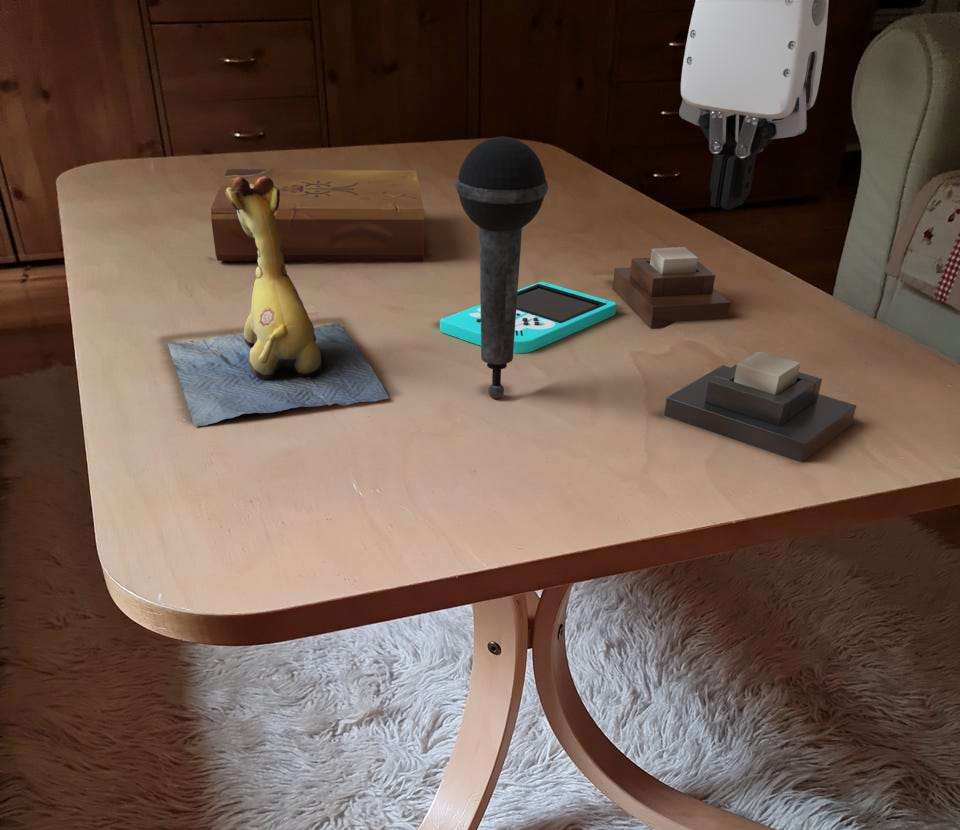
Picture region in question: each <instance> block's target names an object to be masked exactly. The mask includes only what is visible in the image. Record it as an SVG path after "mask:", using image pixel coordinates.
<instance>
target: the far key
mask: <svg viewBox="0 0 960 830" xmlns="http://www.w3.org/2000/svg"><path fill="white" fill-rule="evenodd" d="M650 257H651V259H650V265H651V266H652V267H653V268H654V269H655V270H656V271H657V272H658V273H660V274H673V273H692V272H696V268H697V261H698V262H699V258H698V256H697V255H695V254H694V253H693V252H692V251H690V249H688V248H687V247H685V246H681V247H679V246H678V247H677V246H676V247H658V248H657V247H656V248H651V251H650Z"/></svg>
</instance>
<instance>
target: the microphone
mask: <svg viewBox="0 0 960 830" xmlns="http://www.w3.org/2000/svg"><path fill="white" fill-rule="evenodd" d="M548 189H549V184H548V180H547V178H546V173H545V170H544V167H543V164H542V162H541V160H540V158H539V157H538V155H537V154H536V152H535V151H534V150H533V149H532V148H531V147H529V145H528V144H526V143H524V142H523V141H521V140H520V139H517V138H513V137H510V136H496V137H492V138H491V137H490V138H488V139H487V138H486V139H485V140H484V141H482V142H480V143H478V144H476V146H475V147H473V148H472V149H471V150H470V151H469V153H468V154H467V155H466V157H465V159H464V160H463V162H462V164H461V166H460V169H459V173H458V177H457V178H456V181H455V191H456V193H457V194H458V198H459V201H460V202H459V203H460V205H461V207H462V209H463V211H464V212H465V214H466V216H467V217H468V218H469V219H470V221H471V222H473V223H474V224H475V225H476V226H477V227H478V230H479V231H478V232H479V233H478V235H479V236H478V237H479V238H478V239H479V295H480V296H479V298H480V304H481V346H480V357H481V361H482V362H484V363H486V367H487V368H489V369H490V370H492V375H491V376H492V377H491V384H490V386H489V387H488V389H487V390H488V395H489V397H490V398H492V399H495V400H498V399H501V398H502V397H503V396H504V394H505V388H504V386H503V385H502V382H501V381H502V378H501V377H502V370H504V369H506V368H507V366H508V364H509V363H511V362H512V361H513V359H514V353H513V349H514V335H515V321H516V307H517V292H518V290H519V277H520V261H521V251H522V250H521V248H522V235H523V228H524V227H526V226H527V225H528V224H529V223H531V222H532V221H533V220H534V218H535V217H536V216H537V215H538V214H539V211H540V209H541V208H542V205H543V202H544V199H545V196H546V195H547V193H548ZM480 304H479V305H480Z"/></svg>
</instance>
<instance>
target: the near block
mask: <svg viewBox="0 0 960 830" xmlns="http://www.w3.org/2000/svg"><path fill="white" fill-rule="evenodd" d="M737 364H738V363H736V364H735V365H733V366H727V365H724V364H722V365H721V366H719V367H717V368H715V369H714V370H712V371H710V372H709V373H707V374H705V375H703V376H702V377H700V378H698V379H696V380H694V381H692V382H691V383H689V384H688V385H686V386H683V387H681V389H679V390H677V391H675V392H674V393H672V394H670V395H668V396H666V399H665V400H666V401H665V407H664V415H663V416H664V417H666V418H669V419H673V420H676V421H677V422H678V421H679V422H681V423H684V424H687V425H690V426H693V427H695V428H699V429H701V430H705V431H708V432H710V433H713V434H717V435H719V436H722V437H726V438H728V439H731V440H734V441H737V442H740V443H743V444H746V445H749V446H752V447H754V448H758V449H760V450H764V451H766V452H770V453H772V454H776V455H778V456H781V457H783V458H787V459H790V460H793V461H796V462H799V463H803V462H804V461H805V460H806V459H808V458H809V457H810V456H812V455H814V454H815V453H816V452H817V451H818V450H819V449H821V448H823V447H824V446H825V445H826V444H828V443H829V442H830V441H831V440H833V439H835V437H837V436H838V435H840V433H842V432H843V431H845V430H846V429H848V427H850V426H851V425H852V424H853V422H854V421H853V420H854V417H855V414H856V409H857V405H856V404H853V403H850V402H847V401H843V400H841V399H840V400H839V399H837V398H833V397H830V396H827V395H823V394H820V390H821V386H822V381H823V378H821V377H819V376H818V377H817V376H815V375H811V374H807V373H803V372H800V371H799V372H798V377H797V381H796V384H794V385H793V386H791V387H789V388H788V389H786V390H785V391H783V392H782V393H780V394H779V395H775V394H772V393H768V392H765V391H762V390H759V389H755V388H752V387H749V386H746V385H742V384H739V383H736V382H734V378H735V372H736V367H737Z"/></svg>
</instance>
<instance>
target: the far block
mask: <svg viewBox="0 0 960 830" xmlns="http://www.w3.org/2000/svg"><path fill="white" fill-rule="evenodd" d="M650 259H651V256H650V257H634V258H633V257H632V258H631V263H630V267H615V268H614V271H613V280H612V290H613V291H614V292H615V293H616V294H617V295H618V296H619V297H620V299H622V300H623V302H624V303H626V305H627V306H628V307H629V308H630V309H631V310H632V312H634V313H635V314H636V315H637V317H639V318H640V320H642V322H643V323H644V324H645V325H646V326H647V327H648V328H649V329H650V330H656V329H665V328H668V327H669V326H671V325H673V324H675V323H677V322H689V321H690V322H691V321H708V320H724V319H725V320H726V319H729V315H730V309H731V301H730V300H729V299H727V298H726V297H725V296H724V295H723V294H721V293H720V292H719V291H718V290H717V289H715V287H714V286H715V279H716V274H714V273H713V272H712V271H711V270H709V268H707V267H706V266H705V265H703V264H702V263H701V262H700V261H699V260H698V261H697V268H696V272H692V273H673V274H660V273H658V272H657V271H656V270H655V269H654V268H653V267H652V266H651V265H650Z"/></svg>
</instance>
